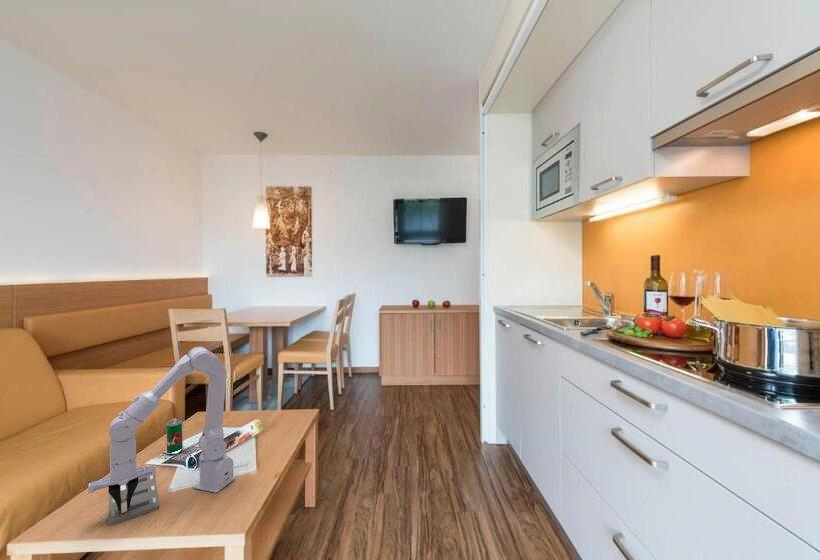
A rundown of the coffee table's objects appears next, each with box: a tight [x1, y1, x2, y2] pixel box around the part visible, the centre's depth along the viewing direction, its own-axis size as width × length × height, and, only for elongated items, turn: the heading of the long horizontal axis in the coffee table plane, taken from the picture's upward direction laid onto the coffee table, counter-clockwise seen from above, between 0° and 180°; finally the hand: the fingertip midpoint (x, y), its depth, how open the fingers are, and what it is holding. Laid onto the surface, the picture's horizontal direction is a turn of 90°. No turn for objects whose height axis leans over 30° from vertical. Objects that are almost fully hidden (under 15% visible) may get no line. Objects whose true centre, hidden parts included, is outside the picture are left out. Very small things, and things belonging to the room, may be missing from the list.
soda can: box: [165, 418, 184, 454], centre depth 132 cm, size 5×5×12 cm
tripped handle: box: [121, 497, 127, 513], centre depth 98 cm, size 1×3×3 cm, turn 39°
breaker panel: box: [107, 474, 160, 527], centre depth 105 cm, size 11×22×4 cm, turn 39°
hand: (124, 507), depth 98 cm, fingers closed, pressing on tripped handle
